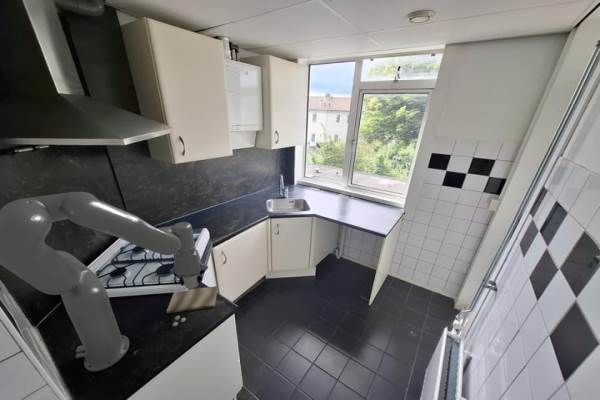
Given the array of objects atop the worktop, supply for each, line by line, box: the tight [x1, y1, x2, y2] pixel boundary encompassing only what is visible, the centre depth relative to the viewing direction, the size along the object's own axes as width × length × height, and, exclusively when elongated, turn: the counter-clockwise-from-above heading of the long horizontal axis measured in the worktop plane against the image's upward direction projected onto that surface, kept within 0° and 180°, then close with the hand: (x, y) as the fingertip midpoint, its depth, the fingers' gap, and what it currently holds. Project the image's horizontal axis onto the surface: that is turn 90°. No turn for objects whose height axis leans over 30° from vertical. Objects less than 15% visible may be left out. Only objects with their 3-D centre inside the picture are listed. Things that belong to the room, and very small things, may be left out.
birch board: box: [166, 285, 219, 314], centre depth 105 cm, size 20×12×1 cm, turn 103°
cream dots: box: [172, 315, 187, 327], centre depth 95 cm, size 5×5×1 cm
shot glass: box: [182, 274, 199, 290], centre depth 101 cm, size 7×7×7 cm
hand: (191, 282), depth 102 cm, fingers closed on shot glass, 6 cm apart
